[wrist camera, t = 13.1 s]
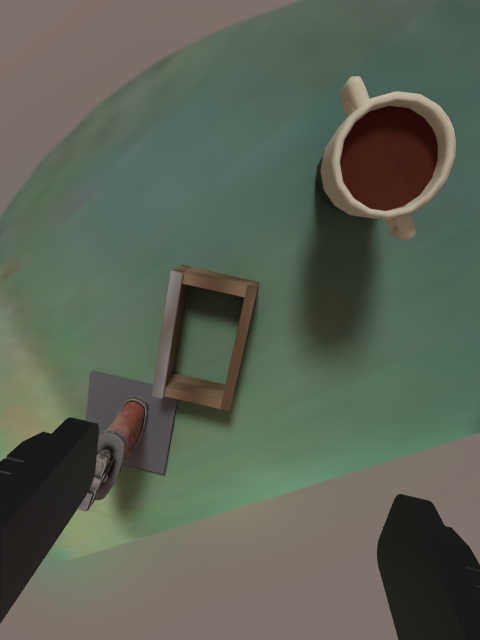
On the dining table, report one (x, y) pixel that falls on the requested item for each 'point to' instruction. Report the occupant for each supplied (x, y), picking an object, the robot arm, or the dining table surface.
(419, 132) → the character mug
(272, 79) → the dining table surface
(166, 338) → the holder
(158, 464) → the mat
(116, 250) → the dining table surface
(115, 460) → the lighter
